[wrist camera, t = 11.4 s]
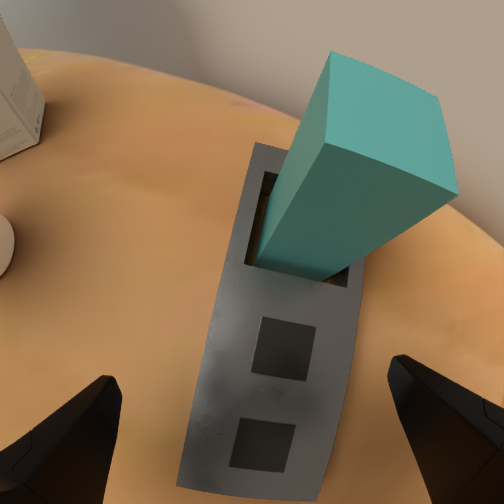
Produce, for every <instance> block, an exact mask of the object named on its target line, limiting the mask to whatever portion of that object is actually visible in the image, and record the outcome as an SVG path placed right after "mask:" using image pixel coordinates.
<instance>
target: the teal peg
mask: <svg viewBox="0 0 504 504" xmlns="http://www.w3.org/2000/svg"><path fill="white" fill-rule="evenodd" d="M458 195H459V194H458V187H457V181H456V174H455V168H454V163H453V158H452V153H451V148H450V143H449V139H448V135H447V130H446V127H445V122H444V118H443V115H442V111H441V107H440V104H439V100H438V98H437V97H435V96H434V95H432V94H430V93H428V92H426V91H424V90H422V89H421V88H419V87H417V86H415V85H413V84H411V83H409V82H406V81H404V80H402V79H400V78H398V77H396V76H394V75H391V74H389V73H387V72H385V71H382V70H380V69H378V68H375V67H373V66H370V65H368V64H365V63H363V62H360V61H358V60H355V59H352V58H350V57H346V56H344V55H341V54H338V53H335V52H332V51H331V52H330V54H329V56H328V59H327V61H326V63H325V66H324V68H323V71H322V73H321V75H320V78H319V80H318V82H317V85H316V87H315V90H314V92H313V94H312V97H311V99H310V101H309V104H308V106H307V109H306V111H305V113H304V116H303V118H302V120H301V123H300V125H299V128H298V130H297V132H296V135H295V137H294V140H293V142H292V144H291V147H290V149H289V151H288V154H287V156H286V159H285V161H284V163H283V166H282V168H281V171H280V173H279V175H278V178H277V180H276V183H275V185H274V187H273V190H272V192H271V195H270V197H269V199H268V202H267V204H266V208H265V213H264V218H263V223H262V227H261V232H260V237H259V242H258V247H257V251H256V256H255V261H254V267H258V268H262V269H266V270H271V271H275V272H279V273H283V274H288V275H292V276H296V277H301V278H305V279H309V280H314V281H318V282H322V281H324V280H325V279H327V278H329V277H331V276H332V275H334V274H336V273H337V272H339V271H341V270H342V269H344V268H346V267H348V266H349V265H351V264H353V263H354V262H356V261H358V260H359V259H361V258H363V257H364V256H366V255H367V254H369V253H371V252H372V251H374V250H376V249H377V248H379V247H380V246H382V245H384V244H385V243H387V242H388V241H390V240H392V239H393V238H395V237H396V236H398V235H400V234H401V233H403V232H404V231H406V230H407V229H409V228H410V227H412V226H414V225H415V224H417V223H418V222H420V221H421V220H423V219H424V218H426V217H427V216H429V215H430V214H432V213H433V212H435V211H436V210H438V209H439V208H441V207H442V206H444V205H445V204H447V203H448V202H449V201H451V200H452V199H454V198H455V197H457V196H458Z"/></svg>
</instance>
